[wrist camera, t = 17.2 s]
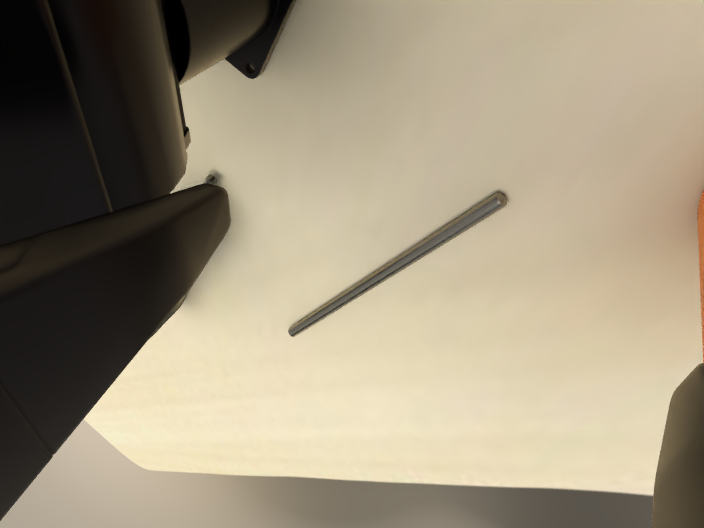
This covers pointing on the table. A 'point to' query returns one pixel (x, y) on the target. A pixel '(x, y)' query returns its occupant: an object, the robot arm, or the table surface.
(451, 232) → the rod
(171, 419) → the table surface
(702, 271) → the measuring cup
